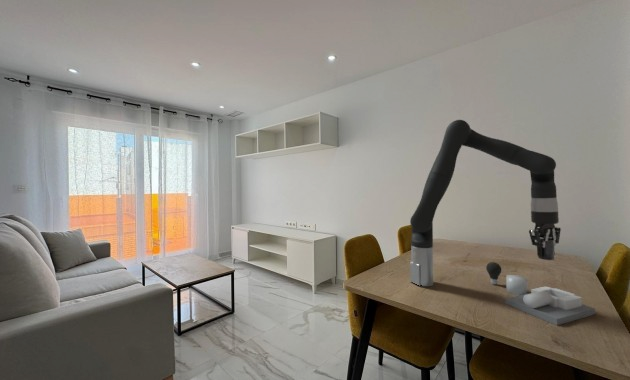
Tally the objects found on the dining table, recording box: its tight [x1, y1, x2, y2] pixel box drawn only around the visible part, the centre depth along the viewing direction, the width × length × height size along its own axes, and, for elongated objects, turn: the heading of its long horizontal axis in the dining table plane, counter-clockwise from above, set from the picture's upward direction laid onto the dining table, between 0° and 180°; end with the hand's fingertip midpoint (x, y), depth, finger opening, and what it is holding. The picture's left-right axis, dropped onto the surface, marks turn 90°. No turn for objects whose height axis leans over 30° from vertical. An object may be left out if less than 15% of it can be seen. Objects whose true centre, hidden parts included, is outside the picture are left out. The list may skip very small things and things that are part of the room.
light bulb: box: [485, 261, 502, 286], centre depth 115 cm, size 6×6×10 cm
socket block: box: [505, 285, 596, 326], centre depth 92 cm, size 20×16×6 cm
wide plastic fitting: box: [505, 274, 528, 296], centre depth 107 cm, size 7×7×6 cm
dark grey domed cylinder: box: [537, 238, 555, 261], centre depth 95 cm, size 4×4×7 cm
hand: (546, 256), depth 95 cm, fingers closed on dark grey domed cylinder, 4 cm apart
